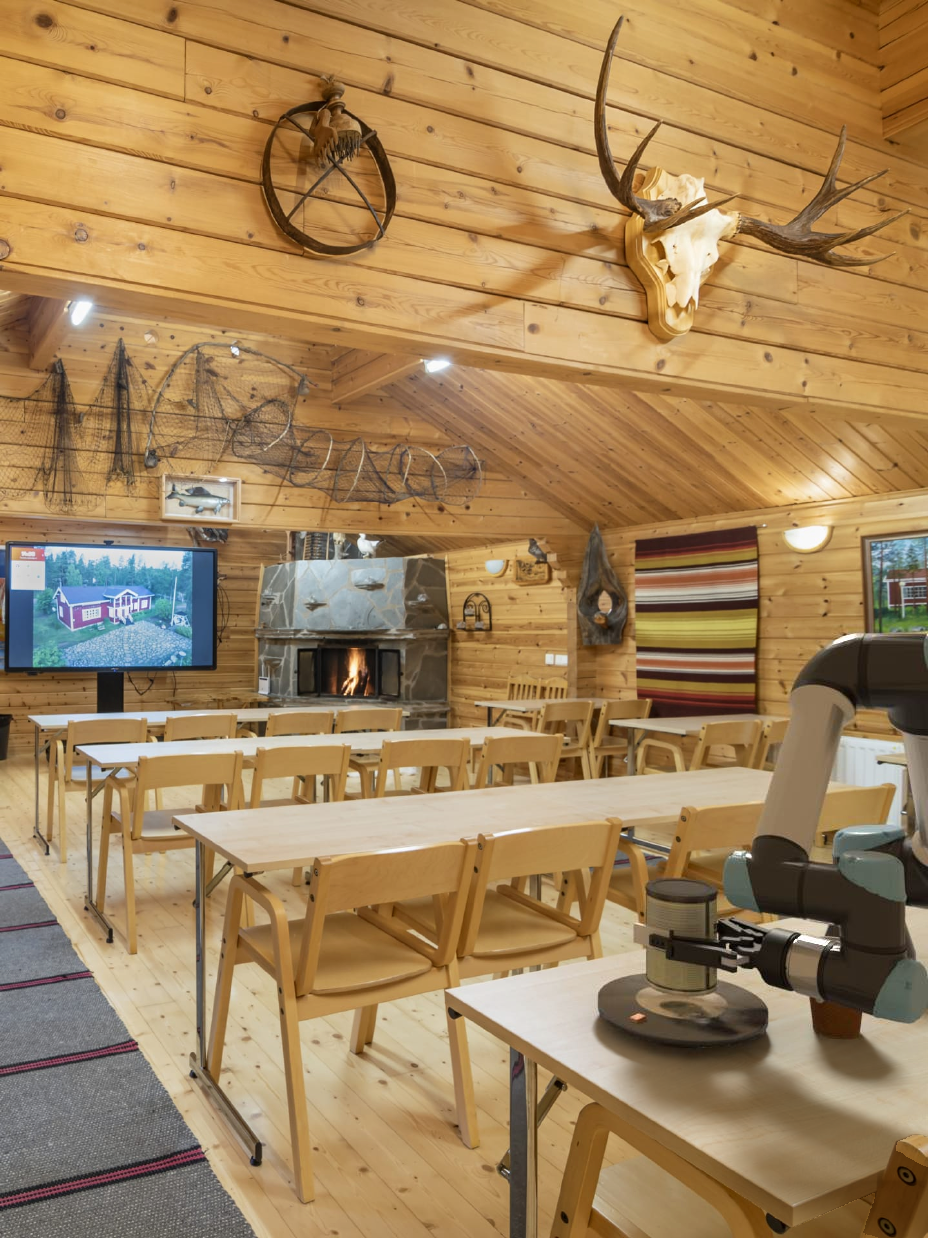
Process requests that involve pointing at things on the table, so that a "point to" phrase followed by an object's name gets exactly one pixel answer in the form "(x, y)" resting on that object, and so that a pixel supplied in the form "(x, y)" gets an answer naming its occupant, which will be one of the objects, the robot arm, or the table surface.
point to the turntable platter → (683, 1014)
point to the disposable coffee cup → (835, 1016)
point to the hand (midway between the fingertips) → (656, 925)
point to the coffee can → (681, 933)
